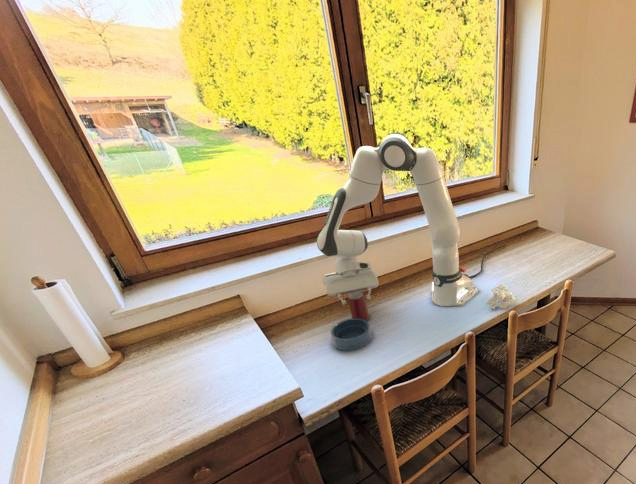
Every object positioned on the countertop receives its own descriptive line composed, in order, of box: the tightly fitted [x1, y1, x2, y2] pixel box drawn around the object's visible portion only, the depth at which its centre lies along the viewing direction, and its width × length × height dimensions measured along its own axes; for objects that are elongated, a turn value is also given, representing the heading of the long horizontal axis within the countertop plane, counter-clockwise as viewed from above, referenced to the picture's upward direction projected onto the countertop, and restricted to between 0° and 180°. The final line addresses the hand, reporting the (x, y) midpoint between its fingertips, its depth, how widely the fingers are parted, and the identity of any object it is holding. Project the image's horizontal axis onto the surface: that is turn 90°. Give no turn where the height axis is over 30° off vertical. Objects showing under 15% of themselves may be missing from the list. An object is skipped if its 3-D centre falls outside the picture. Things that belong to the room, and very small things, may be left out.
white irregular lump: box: [485, 283, 518, 310], centre depth 155 cm, size 12×9×10 cm
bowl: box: [330, 318, 373, 352], centre depth 133 cm, size 14×14×6 cm
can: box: [347, 291, 370, 322], centre depth 144 cm, size 6×6×12 cm
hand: (356, 301), depth 144 cm, fingers open, 8 cm apart
